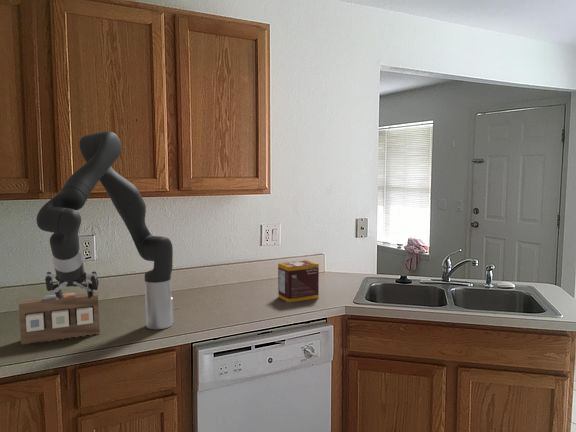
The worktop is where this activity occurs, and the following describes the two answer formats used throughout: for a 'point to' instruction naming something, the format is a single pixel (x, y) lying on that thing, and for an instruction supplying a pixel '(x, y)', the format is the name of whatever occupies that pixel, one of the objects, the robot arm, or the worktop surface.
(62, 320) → the sage key
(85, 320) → the terracotta key
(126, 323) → the worktop surface
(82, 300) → the keypad panel
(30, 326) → the slate key
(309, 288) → the supplement box
